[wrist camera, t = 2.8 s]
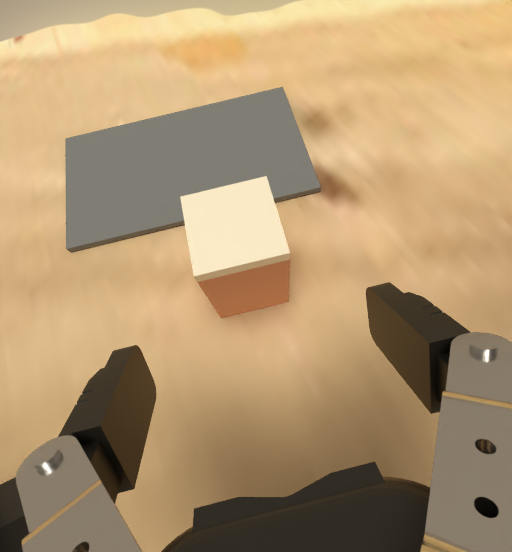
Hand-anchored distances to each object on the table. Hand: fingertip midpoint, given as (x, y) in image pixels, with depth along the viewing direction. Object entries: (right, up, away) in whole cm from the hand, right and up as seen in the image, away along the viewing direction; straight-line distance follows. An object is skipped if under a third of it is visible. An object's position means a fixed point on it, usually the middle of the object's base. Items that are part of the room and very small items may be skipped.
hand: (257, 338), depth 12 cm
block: (-1, +2, +14) cm, 14 cm away
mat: (-6, +12, +18) cm, 23 cm away
